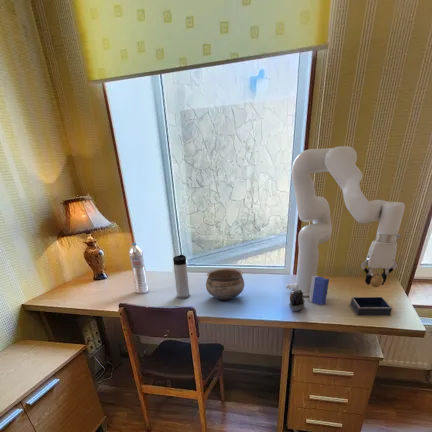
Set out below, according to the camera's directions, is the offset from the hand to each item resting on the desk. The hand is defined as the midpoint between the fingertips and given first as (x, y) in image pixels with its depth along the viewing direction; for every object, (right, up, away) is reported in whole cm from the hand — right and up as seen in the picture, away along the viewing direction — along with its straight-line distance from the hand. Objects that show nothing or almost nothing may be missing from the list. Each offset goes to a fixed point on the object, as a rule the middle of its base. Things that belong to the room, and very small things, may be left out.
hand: (374, 283), depth 140 cm
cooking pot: (-62, +1, +27) cm, 68 cm away
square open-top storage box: (+1, -10, +7) cm, 12 cm away
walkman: (-19, -4, +17) cm, 26 cm away
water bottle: (-107, +8, +40) cm, 115 cm away
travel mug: (-84, +3, +31) cm, 90 cm away
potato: (0, -1, +1) cm, 1 cm away
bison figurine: (-32, +30, +18) cm, 48 cm away
